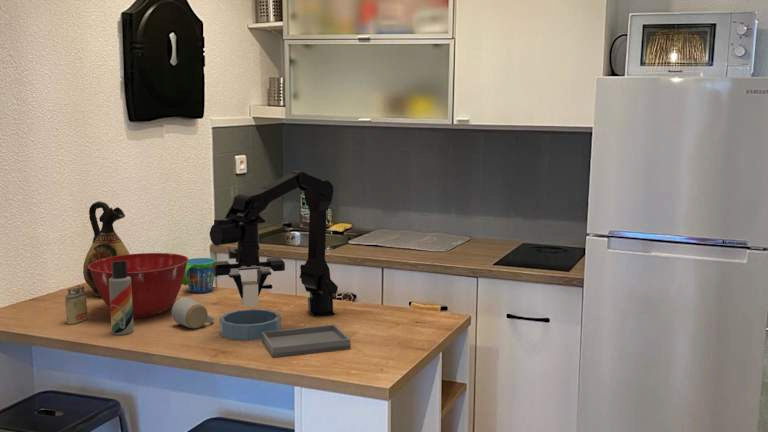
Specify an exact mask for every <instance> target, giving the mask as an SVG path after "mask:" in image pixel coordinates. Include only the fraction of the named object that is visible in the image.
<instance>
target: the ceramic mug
mask: <svg viewBox="0 0 768 432" xmlns="http://www.w3.org/2000/svg"><path fill="white" fill-rule="evenodd" d="M171 317H172V319H173V321H174V322H175V323H176V324H178V325H181V326H184V327H187V328H188V329H195V330H196V329H199V328H201V327H203V326H204V325H205V323H207V324H208V323H209V324H213V322H214V319H215V318H214V317H213V316H210V315H209V313H208V310H207V308H206V306H204V305H203V304H202V303H200V302H198V301H196V300H194V299H193V298H190V297H187V296H184V297H181V298H179V299H176V300H175V301H174V303H173V304H172V308H171Z"/></svg>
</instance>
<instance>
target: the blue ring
mask: <svg viewBox="0 0 768 432" xmlns="http://www.w3.org/2000/svg"><path fill="white" fill-rule="evenodd" d="M277 330H282V315H281V314H280V312H278V311H274V310H270V309H261V308H258V309H257V308H251V309H239V310H238V309H237V310H233V311H230V312H227V313H224V314H223V315H221V316H220V317H219V331H220V334H221V336H222V337H224V338H227V339H230V340H233V341H234V340H235V341H236V340H238V341H239V340H240V341H254V340H262V334H261V332H267V331H277Z"/></svg>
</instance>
